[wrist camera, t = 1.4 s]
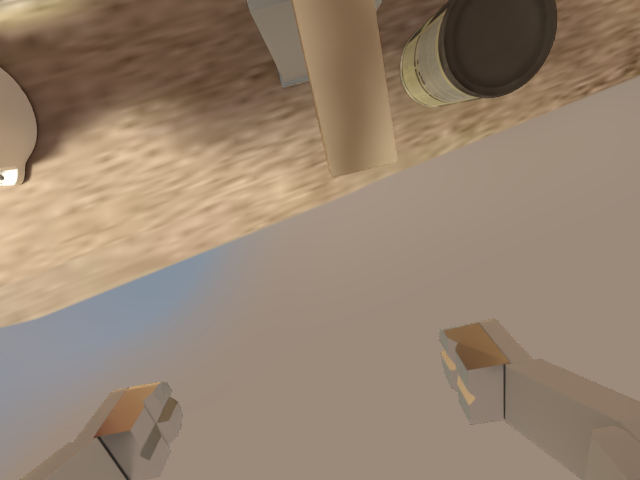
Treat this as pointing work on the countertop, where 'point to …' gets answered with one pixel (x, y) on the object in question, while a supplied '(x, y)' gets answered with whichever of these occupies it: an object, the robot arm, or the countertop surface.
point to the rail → (347, 82)
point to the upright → (282, 38)
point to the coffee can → (477, 50)
